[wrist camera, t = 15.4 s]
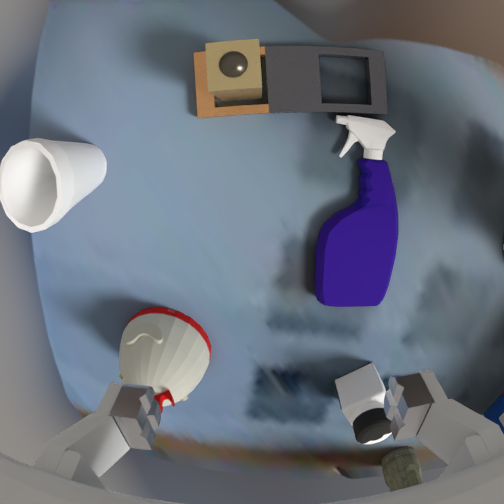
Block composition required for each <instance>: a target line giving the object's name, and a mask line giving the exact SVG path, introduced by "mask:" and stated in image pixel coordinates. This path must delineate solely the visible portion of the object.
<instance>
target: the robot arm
mask: <svg viewBox="0 0 504 504" xmlns="http://www.w3.org/2000/svg"><path fill="white" fill-rule="evenodd" d="M503 248H504V246H503ZM388 385H389V388H390V389H389V390H388V391H387V392H386V393H385V397H384V411H385V414H386V417H387V418H388V419H389V420H391V421H392V422H391V425H390V429H391V432H392V435H393V438H394V440H395V441H396V440H401V439H406V438H411V437H416V436H417V437H416V438H417V439H418V440H419V441H421V442H422V443H423V444H424V445H425V446H426V447H428V448H429V449H430V450H431V451H432V452H434V453H435V454H436V455H437V456H438V457H439V458H441V459H442V460H443V461H444V462H445V463H447V464H448V465H447V467H446V468H445V470H444V471H443V472H442V474H441V475H440V477H439V479H435V480H433V481H429V482H426V483H422V484H419V485H415V486H412V487H408V488H404V489H400V490H396V491H392V492H388V493H383V494H378V495H373V496H368V497H363V498H357V499H351V500H345V501H339V502H330V503H323V504H504V434H503V432H502V431H501V429H500V427H499V425H498V424H496V423H494V422H492V421H490V420H489V419H487V418H485V417H483V416H481V415H480V414H478V413H476V412H474V411H473V410H471V409H469V408H467V407H465V406H464V405H462V404H460V403H458V402H457V401H455V400H453V399H448V398H447V396H446V394H445V392H444V391H443V389H442V387H441V385H440V384H439V382H438V380H437V378H436V377H435V375H434V373H433V372H432V370H430V369H428V370H423V371H418V372H412V373H407V374H402V375H396V376H392V377H391V378H390V380H389V383H388ZM154 396H155V392H154V389H153V387H151V386H143V385H134V384H126V383H125V384H124V383H116V382H112V383H111V384H110V385H109V387H108V389H107V391H106V393H105V395H104V397H103V399H102V401H101V403H100V405H99V407H98V409H97V411H96V413H91V414H90V415H88V416H86V417H85V418H83V419H82V420H80V421H79V422H77V423H76V424H74V425H73V426H71V427H69V428H68V429H66V430H65V431H63V432H62V433H60V434H58V435H57V436H55V437H54V438H52V439H50V440H49V441H47V442H46V444H45V445H44V447H43V449H42V451H41V453H40V455H39V457H38V459H37V461H36V463H35V465H34V467H33V466H30V465H28V464H25V463H23V462H20V461H18V460H16V459H14V458H11V457H9V456H7V455H5V454H3V453H0V504H181V503H174V502H167V501H160V500H154V499H147V498H141V497H136V496H131V495H127V494H122V493H117V492H113V491H109V490H108V489H107V487H106V485H105V484H104V483H103V482H102V481H101V480H100V478H99V477H100V476H101V475H102V474H103V473H104V472H105V471H107V469H109V468H110V467H111V466H112V465H113V464H114V463H115V462H116V461H117V460H118V459H120V458H121V457H122V456H123V455H124V454H125V453H126V452H127V451H128V450H129V449H130V448H129V447H131V448H138V449H146V450H152V448H153V444H154V441H155V437H156V435H155V433H154V430H155V429H156V428H157V427H159V424H160V419H161V410H160V405H159V403H158V401H156V400H155V399H154ZM182 504H183V503H182Z"/></svg>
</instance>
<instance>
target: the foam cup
mask: <svg viewBox="0 0 504 504" xmlns="http://www.w3.org/2000/svg"><path fill="white" fill-rule="evenodd" d="M105 174H106V159H105V157H104V155H103V152H102V151H101V150H100V149H99V148H98V147H96V146H95V145H92V144H87V143H78V142H65V141H52V140H47V139H42V138H34V139H28V140H24V141H22V142H20V143H18V144H16V145H14V146H11V148H10V149H9V151H8V152H7V154H6V155H5V156H4V158H3V159H2V162H1V166H0V201H1V203H2V205H3V208H4V210H5V213H6V215H7V216H8V217H9V218H10V219H11V220H12V222H13V223H14V224H15V225H16V226H17V227H18V228H21V229H23V230H26V231H29V232H31V233H33V232H37V231H41V230H45V229H47V228H49V227H50V226H52V225H54V224H55V223H57V222H58V221H59V220H60V219H61V218H62V217H63V216H64V215H65V214H66V213H67V212H68V211H69V210H70V209H71V208H72V207H73V206H74V205H76V204H77V203H78V202H79V201H80V200H82V199H83V198H84V197H85V196H87V195H88V194H89V193H90V192H92V191H93V190H94V189H95V188H96V187H97V186H98V185H99V184H100V183H102V182H103V179H104V177H105Z"/></svg>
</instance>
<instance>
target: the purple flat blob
mask: <svg viewBox="0 0 504 504" xmlns="http://www.w3.org/2000/svg"><path fill="white" fill-rule="evenodd" d="M336 123H339V124H343V125H346V128H347V129H348V130H349V134H348V139H347V141H346V143H345V145H344V148H343V150H342V152H341V153H340V155H339V157H342V156H343V155H344V154H345V153H346V152H347V151H348V150H349V149H350V147H351V146H352V145H353V144H354V142H357V141H359V143H360V144H361V145H362V147H363V148H364V156H363V158H360V159H359V160H357V162H358V165H359V168H360V170H361V175H360V177H359V182H360V185H361V187H360V189H359V191H358V193H359V198H358V199H357V201H356V202H355V203H354V204H353V205H351V206H349V207H347V208H345V209H343V210H341V211H339V212H337V213H336V214H334V215H333V216H332V217H331V218H330V219H329V220H328V221H326V222H325V223H324V225H323V226H322V228H321V230H320V232H319V236H318V241H317V246H316V267H315V293H316V297H317V300H318V301H319V302H320V303H322V304H323V305H327V306H336V307H352V306H377V305H378V304H380V302H381V301H382V300H383V298H384V296H385V293H386V291H387V288H388V285H389V281H390V277H391V273H392V269H393V265H394V260H395V255H396V248H397V240H398V211H397V203H396V197H395V192H394V187H393V183H392V179H391V175H390V171H389V168H388V164H387V162H386V161H384V160H382V155H383V150H384V148H385V145H386V142H387V140H388V139H389V137H390V136H392V135H393V134H395V133H396V131H395V130H393V129H392V128H391V127H390V126H389V125H388V124H387V123H386V122H385V121H382V120H376V119H370V118H364V117H358V116H351V115H347V116H340V115H337V116H336Z"/></svg>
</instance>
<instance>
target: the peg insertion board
mask: <svg viewBox="0 0 504 504" xmlns="http://www.w3.org/2000/svg"><path fill="white" fill-rule="evenodd" d="M260 57H265V64H266V79H267V94H268V104H259V105H242V106H229V107H218V108H216V97H215V96H214V95H212V94H211V93H209V92H208V82H207V65H206V51H203V52H196V53H194V67H195V84H196V100H197V114H198V118H208V117H219V116H231V115H245V114H263V113H292V112H334V113H363V114H381V115H387V114H388V112H387V91H386V75H385V63H384V52H383V51H377V50H368V49H357V48H344V47H326V46H263V47H260ZM319 57H338V58H354V59H365V69H366V83H367V100H368V105H360V104H334V103H322V98H321V82H320V67H319Z"/></svg>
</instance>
